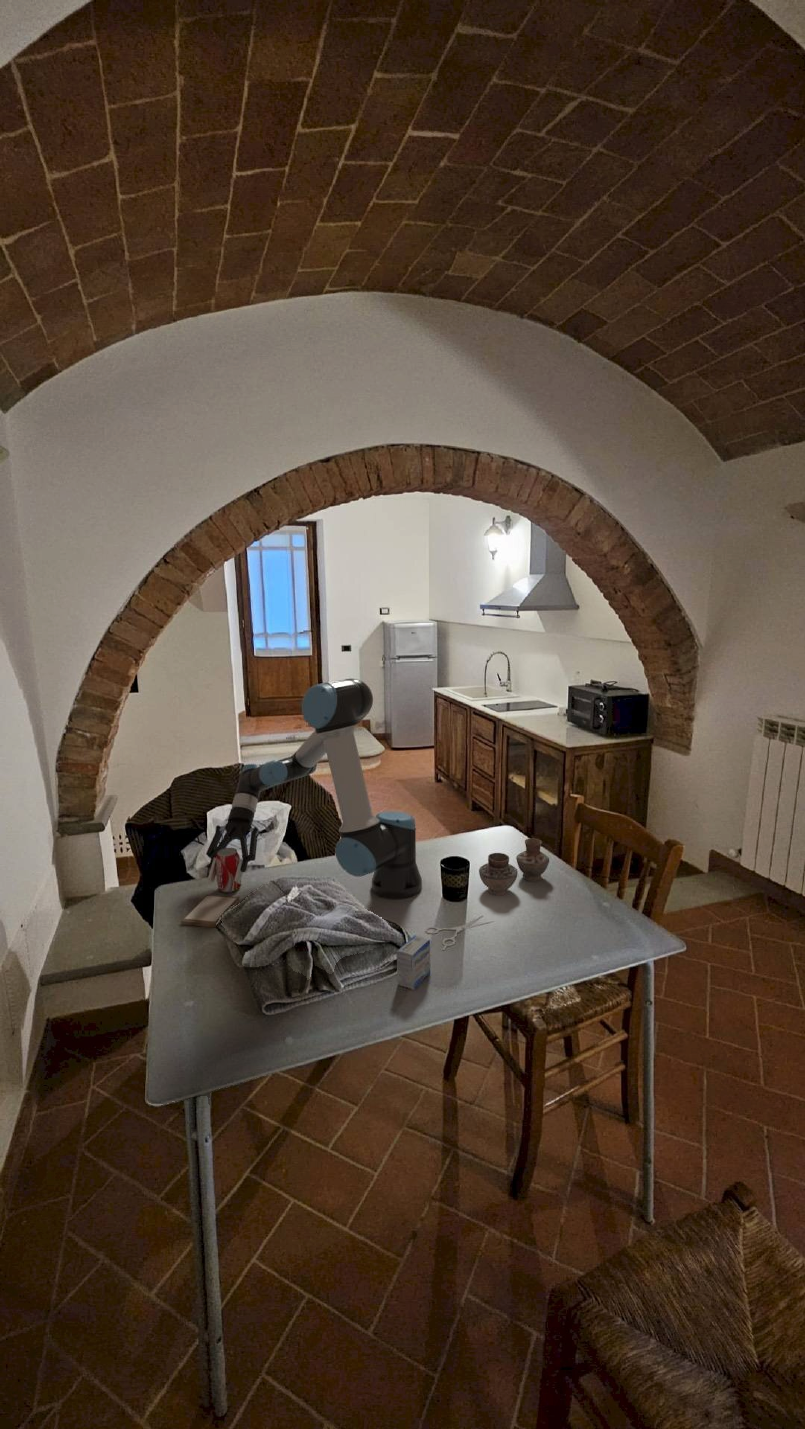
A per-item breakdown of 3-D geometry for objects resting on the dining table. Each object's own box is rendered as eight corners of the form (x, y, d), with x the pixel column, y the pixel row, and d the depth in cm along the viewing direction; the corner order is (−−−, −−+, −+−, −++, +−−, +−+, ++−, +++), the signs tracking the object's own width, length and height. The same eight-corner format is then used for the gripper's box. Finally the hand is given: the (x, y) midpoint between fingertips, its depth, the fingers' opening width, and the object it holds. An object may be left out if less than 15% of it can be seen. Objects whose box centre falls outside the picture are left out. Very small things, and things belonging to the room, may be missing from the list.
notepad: (239, 900, 182) (239, 896, 181) (215, 927, 167) (215, 923, 167) (207, 897, 183) (207, 894, 183) (181, 924, 169) (180, 920, 169)
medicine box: (413, 991, 139) (413, 956, 138) (396, 984, 142) (396, 950, 140) (431, 972, 146) (430, 939, 144) (414, 967, 148) (414, 933, 146)
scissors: (418, 931, 163) (477, 908, 174) (418, 933, 163) (477, 910, 174) (443, 950, 155) (503, 924, 165) (443, 952, 155) (503, 927, 166)
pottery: (556, 879, 192) (558, 843, 189) (497, 903, 177) (498, 864, 175) (529, 866, 201) (530, 831, 198) (471, 888, 187) (471, 851, 184)
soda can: (238, 894, 185) (235, 856, 183) (214, 894, 186) (211, 856, 183) (244, 883, 192) (242, 846, 190) (221, 883, 192) (219, 846, 190)
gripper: (277, 817, 199) (260, 887, 186) (217, 814, 202) (196, 883, 190) (270, 807, 192) (252, 879, 180) (208, 804, 196) (186, 874, 183)
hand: (223, 881), depth 185 cm, fingers open, 8 cm apart
